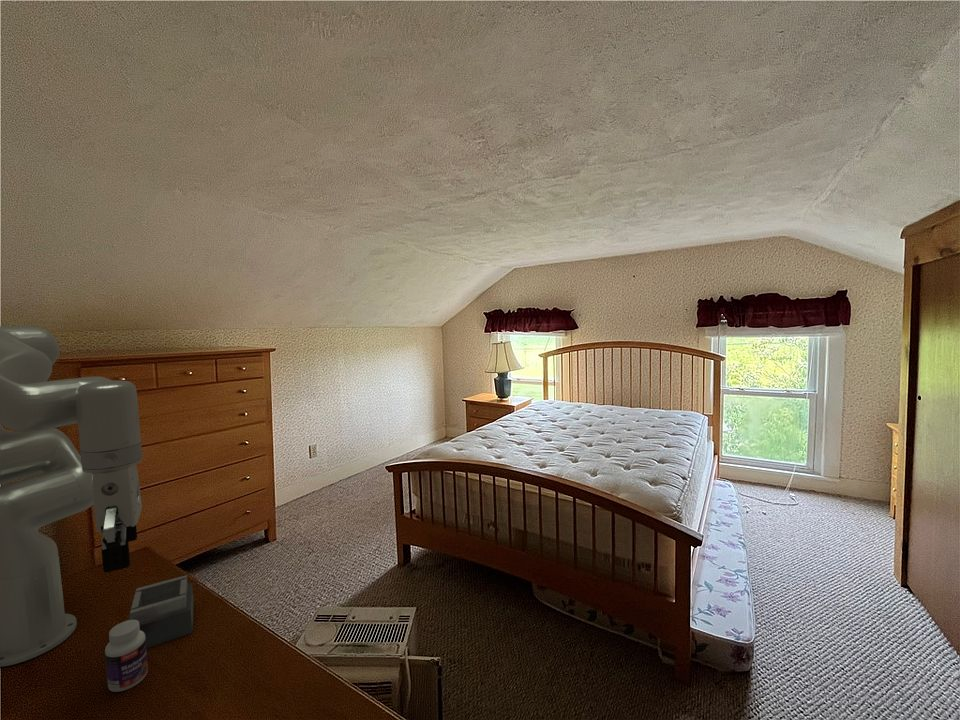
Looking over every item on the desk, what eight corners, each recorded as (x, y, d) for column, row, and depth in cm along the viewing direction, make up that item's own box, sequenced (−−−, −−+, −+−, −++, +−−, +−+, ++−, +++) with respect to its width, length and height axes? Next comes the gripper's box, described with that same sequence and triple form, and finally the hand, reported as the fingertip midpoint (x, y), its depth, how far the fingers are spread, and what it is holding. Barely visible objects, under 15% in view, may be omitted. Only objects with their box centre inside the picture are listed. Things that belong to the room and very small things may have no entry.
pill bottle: (125, 696, 70) (120, 641, 69) (99, 690, 71) (94, 636, 70) (156, 669, 76) (152, 618, 74) (131, 664, 77) (127, 614, 76)
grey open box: (127, 654, 79) (124, 617, 78) (135, 622, 87) (132, 587, 86) (192, 633, 84) (189, 597, 83) (193, 604, 92) (191, 572, 92)
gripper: (135, 467, 64) (144, 573, 66) (146, 439, 79) (153, 527, 81) (68, 477, 60) (80, 590, 62) (92, 446, 75) (101, 538, 76)
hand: (121, 554), depth 71 cm, fingers open, 9 cm apart
